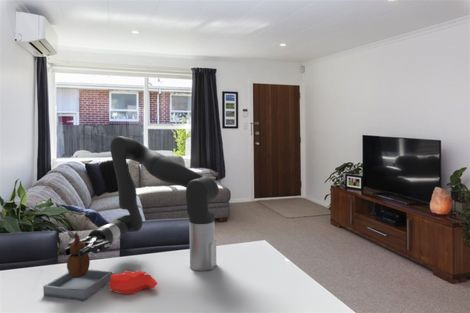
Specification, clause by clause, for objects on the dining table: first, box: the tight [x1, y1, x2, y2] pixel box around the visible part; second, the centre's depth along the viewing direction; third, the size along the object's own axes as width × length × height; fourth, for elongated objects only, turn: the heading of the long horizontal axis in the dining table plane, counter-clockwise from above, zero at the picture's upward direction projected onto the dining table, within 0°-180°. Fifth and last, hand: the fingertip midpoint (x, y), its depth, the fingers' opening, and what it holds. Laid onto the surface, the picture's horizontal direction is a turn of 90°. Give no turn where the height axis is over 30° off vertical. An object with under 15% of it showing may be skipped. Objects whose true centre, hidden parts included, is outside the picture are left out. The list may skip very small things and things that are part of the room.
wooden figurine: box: [66, 232, 91, 278], centre depth 113 cm, size 7×6×15 cm
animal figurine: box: [108, 270, 158, 295], centre depth 113 cm, size 12×15×5 cm
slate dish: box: [42, 268, 113, 302], centre depth 114 cm, size 15×15×3 cm
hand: (72, 253), depth 110 cm, fingers closed on wooden figurine, 4 cm apart
